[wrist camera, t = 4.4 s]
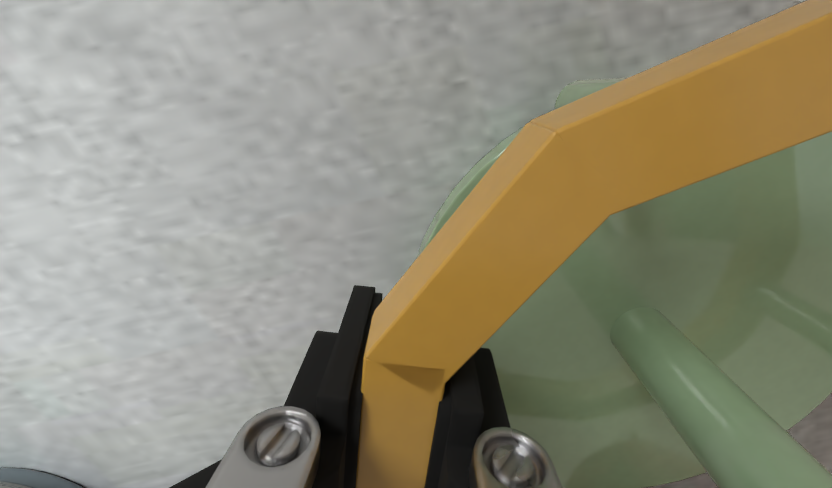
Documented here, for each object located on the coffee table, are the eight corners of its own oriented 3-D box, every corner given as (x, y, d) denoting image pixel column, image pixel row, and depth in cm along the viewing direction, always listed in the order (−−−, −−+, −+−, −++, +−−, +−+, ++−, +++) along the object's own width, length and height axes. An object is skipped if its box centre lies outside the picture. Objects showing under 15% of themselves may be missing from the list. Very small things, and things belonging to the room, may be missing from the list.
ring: (1220, -407, 4) (1593, -637, 3) (1241, 483, 9) (1379, 550, 8) (188, 380, 8) (145, 435, 7) (585, 693, 13) (603, 760, 12)
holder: (753, -70, 9) (2000, -666, 2) (919, 346, 14) (1505, 652, 6) (303, 280, 13) (147, 530, 6) (543, 519, 17) (632, 838, 10)
